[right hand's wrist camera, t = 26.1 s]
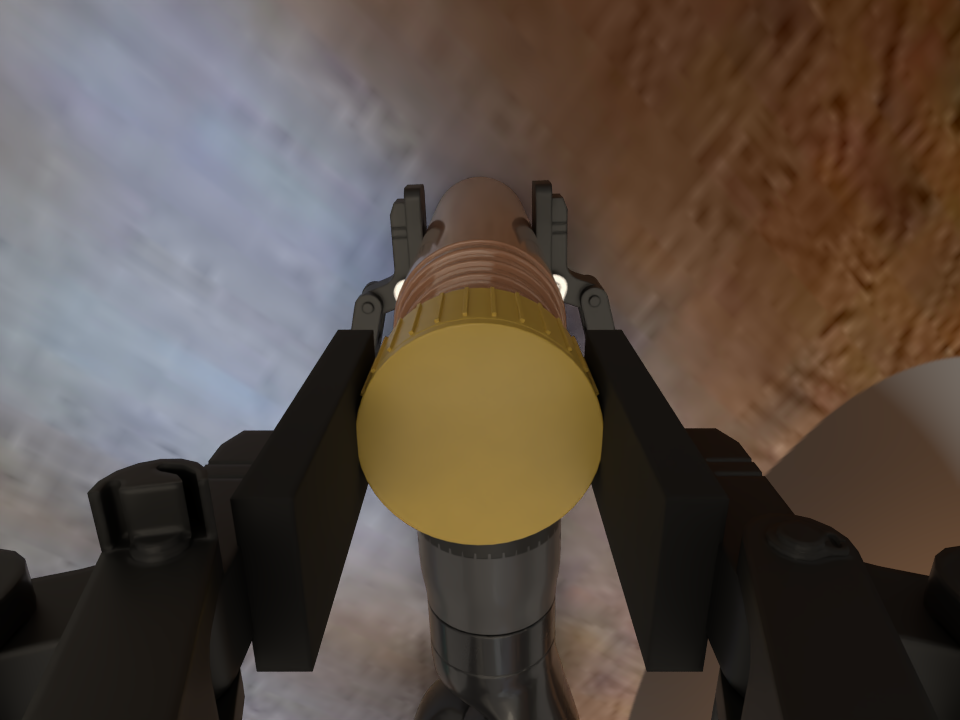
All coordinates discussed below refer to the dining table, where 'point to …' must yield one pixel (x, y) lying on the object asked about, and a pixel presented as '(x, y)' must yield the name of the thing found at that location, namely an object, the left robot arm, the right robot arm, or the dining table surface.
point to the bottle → (479, 250)
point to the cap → (479, 418)
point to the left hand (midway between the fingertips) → (477, 186)
